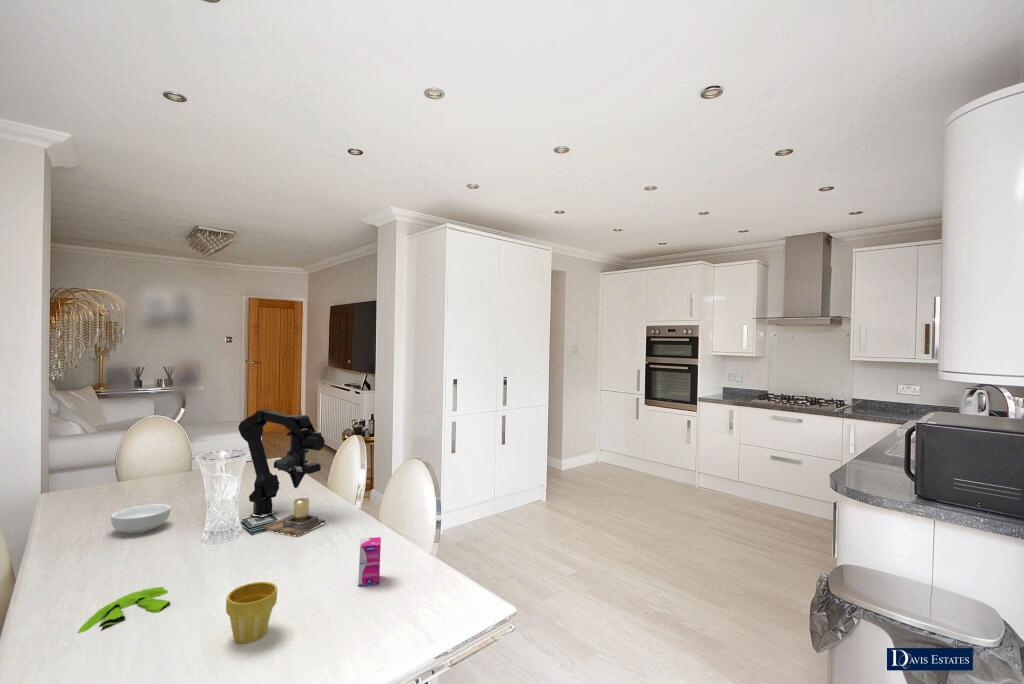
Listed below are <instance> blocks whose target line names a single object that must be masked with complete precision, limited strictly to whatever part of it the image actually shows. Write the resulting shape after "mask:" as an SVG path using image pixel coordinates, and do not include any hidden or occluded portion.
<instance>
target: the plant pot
mask: <svg viewBox="0 0 1024 684" xmlns="http://www.w3.org/2000/svg"><path fill="white" fill-rule="evenodd" d="M277 599H278V586H277V585H276V584H275V583H273V582H269V581H255V582H250V583H245V584H243V585H240V586H237V587H235V588H234V589H232V590H231V591H230V592H229V593H228V594H227V595H226V601H225V602H226V604H225V612H226V615H228V617H229V621H230V626H231V632H232V637H233V640H234V641H235V642H236V643H238V644H246V643H247V644H249V643H252V642H255V641H258V640H259V639H261V638H262V637H264V636H265V635H266V634H267V630H268V627H269V622H270V619H271V614H272V611H273V608H274V607H275V605H276V604H277Z"/></svg>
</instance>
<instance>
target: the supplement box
mask: <svg viewBox="0 0 1024 684" xmlns="http://www.w3.org/2000/svg"><path fill="white" fill-rule="evenodd" d="M381 538H382V537H381V536H377V537H376V536H375V537H366V538H365V537H364V538H360V545H359V563H358V564H359V565H358V580H357V581H358V587H363V586H371V585H372V586H373V585H379V584H380V574H381V572H380V568H381V544H382V542H381V541H382V539H381Z"/></svg>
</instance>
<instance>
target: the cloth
mask: <svg viewBox="0 0 1024 684" xmlns="http://www.w3.org/2000/svg"><path fill="white" fill-rule="evenodd" d="M168 593H169V591H168V590H167V589H165V587H164V586H160V587H159V586H157V587H150V588H146V589H141V590H139V591H134V592H131V593H127V594H126V595H124V596H122V597H120V598H117V599H116V600H115V601H113V602H111V603H108V604H106V605H105V606H103V607H102V608H100V609H99V610H97V611H96V612H95V614H93V615H92V616H91V617H90V618H88V619H87V620H86V621H85V622H84V624H83V625H82V626H81V627H80V628H79V630H78V631H77V632H76V633H77V634H80V633H84V632H86V631H89V630H90V629H91V628H93V626H95V625H97V624H98V623H99V622H100V621H101V620H102V619H103V620H102V621H101V622H100V623H99V626H98V627H99V628H100V627H101V626H102V625H103V624H104V623H105V624H104V625H103V626H102V628H101V629H100V631H101V632H102V631H103V629H105V627H106V626H110V625H111V626H112V625H118V624H120V623H123V622H124V621H125V619H126V616H125V615H124V612H123V611H124V610H122V609H125V608H128V607H130V606H131V607H132V606H133V605H134V604H136V607H138V608H141V609H144V610H145V611H146V612H149V613H152V614H157V613H160V611H162V610H163V609H164V608H166V607H167V606H170V605H171V601H170V600H165V599H158V598H157V597H160V596H164V595H166V594H168ZM156 598H157V599H156Z"/></svg>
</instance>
